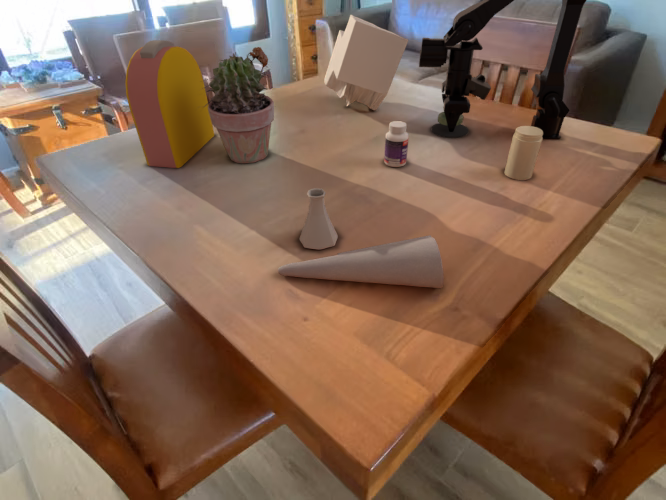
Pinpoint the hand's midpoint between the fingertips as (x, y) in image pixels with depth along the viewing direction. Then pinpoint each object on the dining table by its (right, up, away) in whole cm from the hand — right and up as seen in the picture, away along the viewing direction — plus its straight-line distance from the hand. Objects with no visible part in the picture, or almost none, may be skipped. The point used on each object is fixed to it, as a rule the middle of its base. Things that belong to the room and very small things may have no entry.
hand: (450, 127), depth 118 cm
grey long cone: (-29, -40, -49) cm, 69 cm away
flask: (-35, -32, -38) cm, 61 cm away
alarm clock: (-73, -7, -5) cm, 73 cm away
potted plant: (-55, -10, -9) cm, 57 cm away
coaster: (0, -1, +1) cm, 1 cm away
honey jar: (+10, -17, -20) cm, 28 cm away
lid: (0, +2, -2) cm, 3 cm away
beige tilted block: (-23, +13, +19) cm, 33 cm away
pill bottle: (-17, -13, -14) cm, 26 cm away
